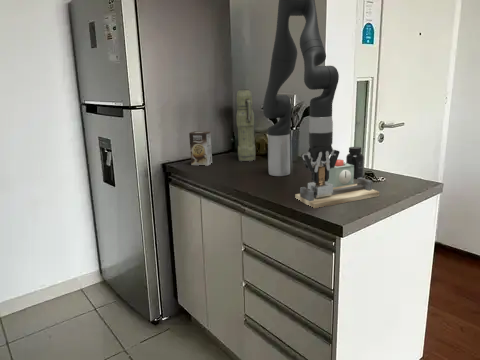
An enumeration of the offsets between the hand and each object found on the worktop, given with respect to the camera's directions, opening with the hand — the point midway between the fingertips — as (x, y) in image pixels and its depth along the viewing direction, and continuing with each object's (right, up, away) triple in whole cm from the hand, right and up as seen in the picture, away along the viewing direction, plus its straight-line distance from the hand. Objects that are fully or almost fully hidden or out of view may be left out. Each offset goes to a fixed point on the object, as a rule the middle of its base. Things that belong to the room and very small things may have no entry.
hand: (320, 181), depth 130 cm
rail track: (+7, -5, +4) cm, 10 cm away
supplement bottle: (+20, +2, +29) cm, 35 cm away
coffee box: (-46, +8, +64) cm, 79 cm away
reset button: (+10, +4, +17) cm, 20 cm away
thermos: (-23, +11, +69) cm, 73 cm away
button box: (+11, -1, +18) cm, 21 cm away
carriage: (0, -5, +1) cm, 5 cm away
